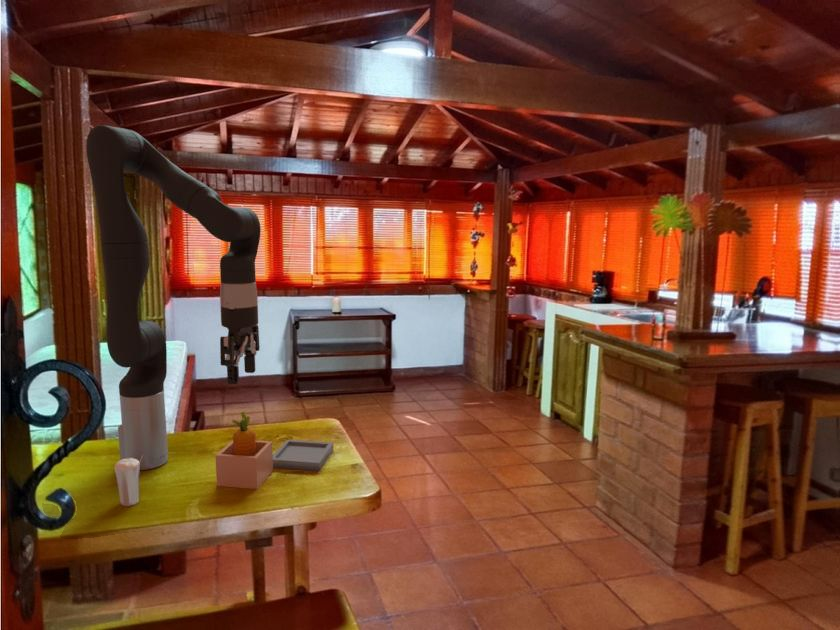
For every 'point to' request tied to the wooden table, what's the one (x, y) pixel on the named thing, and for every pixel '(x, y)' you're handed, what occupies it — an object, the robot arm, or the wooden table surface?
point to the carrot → (244, 438)
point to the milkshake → (128, 480)
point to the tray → (302, 455)
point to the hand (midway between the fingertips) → (242, 377)
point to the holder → (244, 466)
